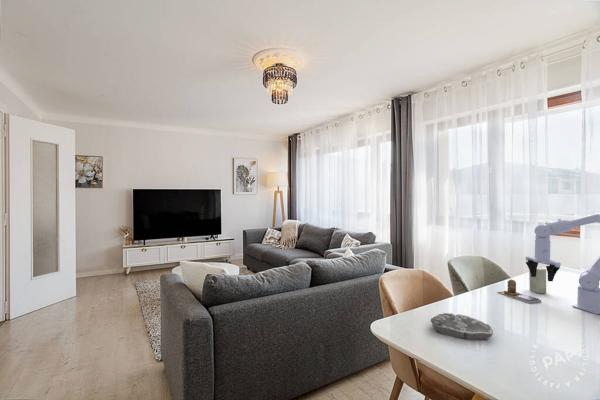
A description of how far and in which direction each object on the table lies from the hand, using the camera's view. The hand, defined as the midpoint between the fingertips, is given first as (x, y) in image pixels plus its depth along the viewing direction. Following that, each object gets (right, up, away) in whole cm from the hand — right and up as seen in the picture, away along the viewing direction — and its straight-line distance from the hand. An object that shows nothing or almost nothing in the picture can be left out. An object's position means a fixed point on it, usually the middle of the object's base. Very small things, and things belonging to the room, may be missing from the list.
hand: (541, 278), depth 143 cm
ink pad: (-7, -10, -1) cm, 12 cm away
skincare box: (+8, -10, +13) cm, 18 cm away
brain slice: (-56, -10, -33) cm, 66 cm away
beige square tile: (-9, -10, +7) cm, 15 cm away
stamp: (-9, -10, +7) cm, 15 cm away
